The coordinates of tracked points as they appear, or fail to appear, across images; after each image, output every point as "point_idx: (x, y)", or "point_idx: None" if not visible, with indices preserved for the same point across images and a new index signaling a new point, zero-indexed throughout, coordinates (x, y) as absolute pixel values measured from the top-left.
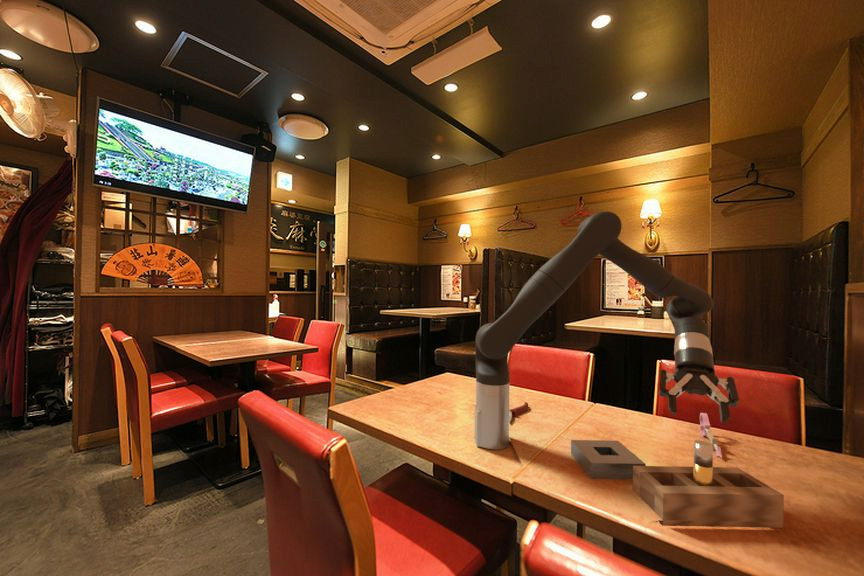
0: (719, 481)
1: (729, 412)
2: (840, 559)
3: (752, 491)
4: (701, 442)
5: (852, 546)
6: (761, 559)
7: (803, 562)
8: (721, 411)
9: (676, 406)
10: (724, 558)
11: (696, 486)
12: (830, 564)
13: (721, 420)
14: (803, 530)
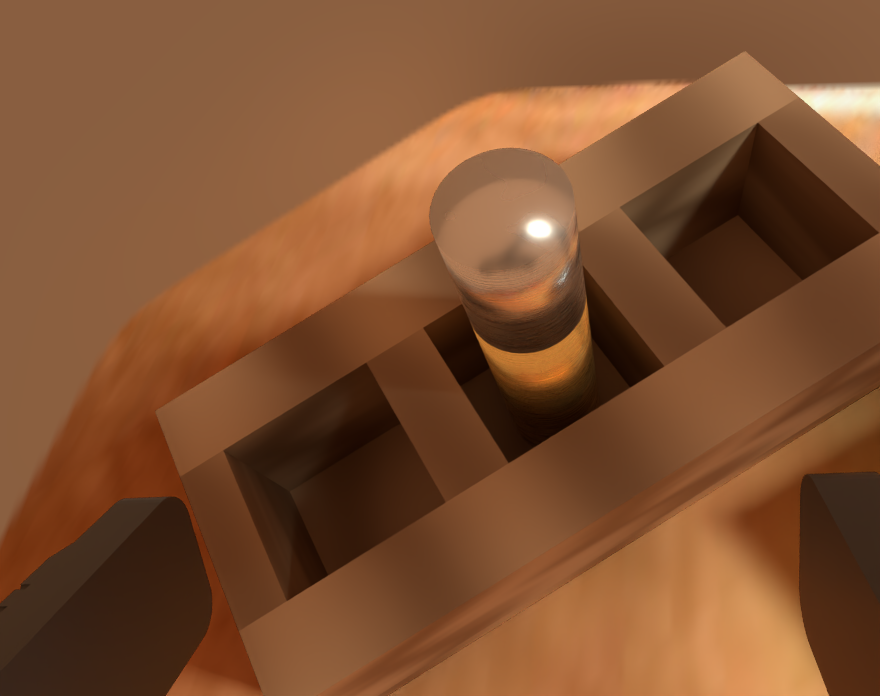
0: (446, 375)
1: (9, 597)
2: (141, 344)
3: (298, 355)
4: (512, 230)
5: (48, 469)
6: (397, 182)
7: (270, 249)
8: (114, 564)
9: (832, 517)
10: (513, 114)
11: (580, 229)
12: (190, 291)
13: (197, 567)
14: (168, 493)
